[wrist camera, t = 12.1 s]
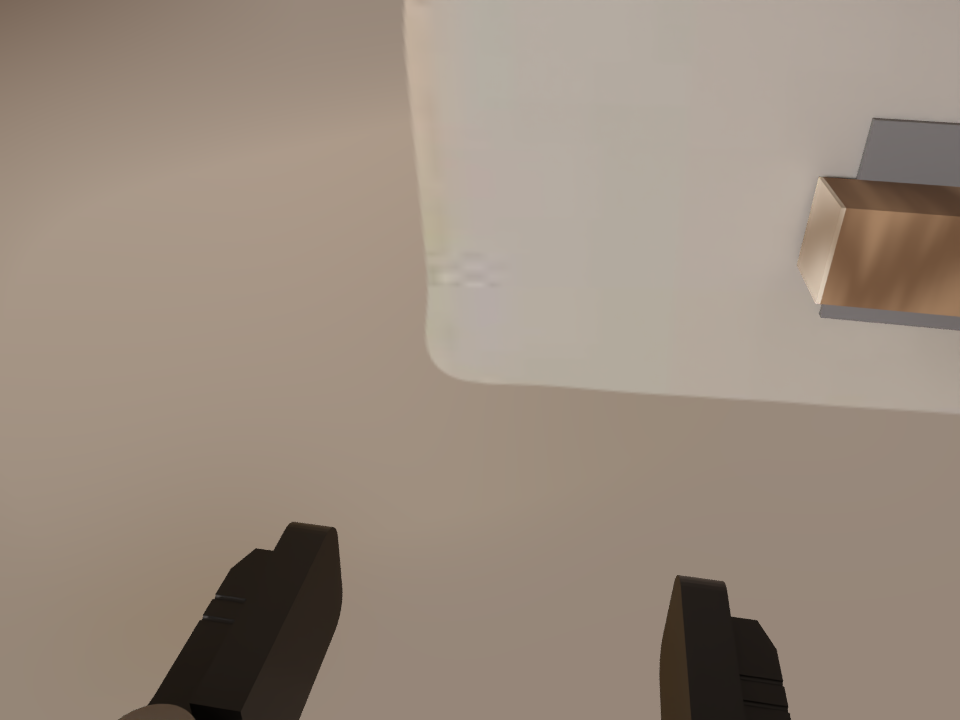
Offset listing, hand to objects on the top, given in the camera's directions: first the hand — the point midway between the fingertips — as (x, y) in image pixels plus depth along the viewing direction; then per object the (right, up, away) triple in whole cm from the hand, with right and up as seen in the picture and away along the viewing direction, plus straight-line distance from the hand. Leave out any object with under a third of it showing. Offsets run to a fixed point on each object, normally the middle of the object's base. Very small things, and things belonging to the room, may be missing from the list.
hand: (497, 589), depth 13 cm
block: (+15, +9, +23) cm, 29 cm away
